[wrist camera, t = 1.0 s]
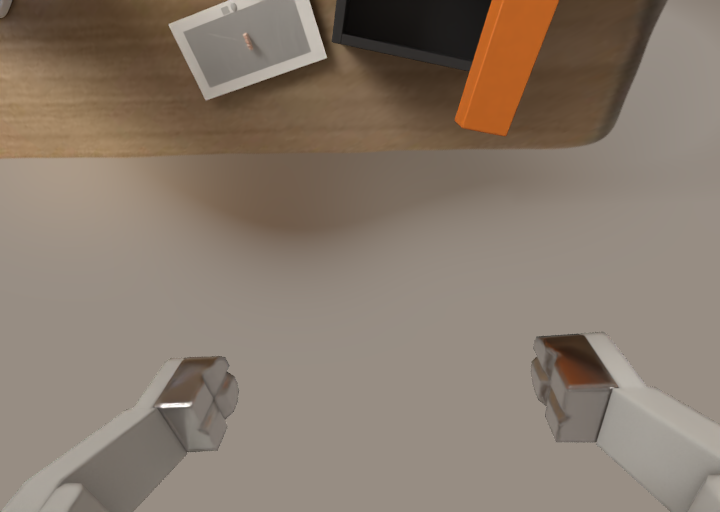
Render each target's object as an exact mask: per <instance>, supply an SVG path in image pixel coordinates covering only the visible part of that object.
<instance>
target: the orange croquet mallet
mask: <svg viewBox="0 0 720 512" xmlns="http://www.w3.org/2000/svg"><path fill="white" fill-rule="evenodd" d="M558 2H559V0H492V1H491V4H490V7H489V11H488V14H487V17H486V20H485V24H484V27H483V30H482V33H481V36H480V40H479V43H478V46H477V49H476V53H475V56H474V59H473V62H472V66H471V69H470V72H469V75H468V78H467V82H466V85H465V88H464V91H463V95H462V98H461V101H460V104H459V108H458V111H457V114H456V117H455V122H456V123H457V124H458V125H460V126H461V127H462V128H464V129H469V130H474V131H479V132H484V133H489V134H494V135H500V136H506V135H507V133H508V130H509V128H510V125H511V123H512V120H513V117H514V115H515V112H516V110H517V107H518V105H519V102H520V100H521V97H522V94H523V92H524V89H525V87H526V84H527V82H528V79H529V77H530V74H531V71H532V69H533V66H534V64H535V61H536V59H537V56H538V53H539V51H540V48H541V46H542V43H543V41H544V38H545V36H546V33H547V30H548V28H549V25H550V23H551V20H552V18H553V15H554V13H555V10H556V7H557V5H558Z"/></svg>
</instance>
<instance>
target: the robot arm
mask: <svg viewBox="0 0 720 512" xmlns="http://www.w3.org/2000/svg"><path fill="white" fill-rule="evenodd" d="M11 3H12V0H0V18H3V17H4V16H5V15H6V14H7V13H8V10H9V8H10V6H11ZM533 349H534V351H535V353H536V355H537V357H536V358H535V359H534V360H533V361H532V364H531V376H532V383H533V387H534V390H535V393H536V395H537V398H538V400H539V401H540V402H542V403H543V404H544V405H546V406H547V407H546V414H545V417H546V419H547V422H548V424H549V426H550V429H551V431H552V433H553V436H554V438H555V441H556V442H596V445H597V446H599V447H600V448H601V449H602V450H603V451H604V452H605V453H606V454H607V455H609V456H610V457H611V458H612V459H613V460H614V461H615V462H616V463H617V464H618V465H620V466H621V467H622V468H623V469H624V470H625V471H626V472H627V473H628V474H629V475H631V476H632V477H633V478H634V479H635V480H636V481H637V482H638V483H639V484H640V485H642V486H643V487H644V488H645V489H646V490H647V491H648V492H650V494H651V495H653V496H654V497H655V498H656V499H657V500H658V501H659V502H660V503H661V504H663V505H664V506H665V507H666V508H667V509H668V510H669V511H670V512H720V424H719V423H717V422H715V421H714V420H712V419H710V418H708V417H707V416H705V415H703V414H702V413H700V412H698V411H696V410H694V409H693V408H691V407H689V406H688V405H686V404H684V403H682V402H680V401H679V400H677V399H675V398H674V397H672V396H670V395H668V394H667V393H665V392H663V391H661V390H660V389H658V388H656V387H647V386H646V384H645V383H644V382H643V380H642V379H641V378H640V376H639V375H638V374H637V372H636V371H635V370H634V368H633V367H632V366H631V364H630V363H629V362H628V360H627V359H626V358H625V357H624V355H623V354H622V353H621V351H620V350H619V349H618V347H617V346H616V345H615V343H614V342H613V341H612V339H611V338H610V337H609V335H607V334H606V333H604V332H595V333H581V334H568V335H553V336H539V337H536V339H535V341H534V347H533ZM228 367H229V364H228V362H227V360H226V358H225V357H222V356H212V357H187V358H170V359H169V360H167V361H166V362H165V363H164V364H163V366H162V367H161V369H160V370H159V371H158V373H157V374H156V376H155V377H154V379H153V380H152V381H151V383H150V384H149V386H148V387H147V389H146V390H145V391H144V393H143V394H142V396H141V397H140V399H139V400H138V402H137V403H136V404H135V406H134V407H133V409H126V410H125V411H124V412H123V413H121V414H119V415H118V416H117V417H115V418H114V419H112V420H111V421H110V422H108V423H107V424H106V425H104V426H103V427H101V428H100V429H98V430H97V431H96V432H94V433H93V434H91V435H90V436H89V437H87V438H86V439H84V440H83V441H82V442H80V443H79V444H77V445H76V446H75V447H73V448H72V449H71V450H69V451H68V452H66V453H65V454H63V455H62V456H61V457H59V458H58V459H56V460H55V461H54V462H52V463H51V464H49V465H48V466H47V467H45V468H44V469H42V470H41V471H40V472H38V473H37V474H35V475H34V476H33V477H31V478H30V479H28V480H27V481H26V482H25V483H24V484H23V485H22V486H21V488H20V489H19V490H18V491H17V492H16V494H15V495H14V496H13V497H12V499H11V500H10V501H9V502H8V503H7V505H6V506H5V507H4V508H3V510H2V511H1V512H133V511H134V510H135V509H136V508H137V507H138V506H139V505H140V504H141V503H142V502H143V501H144V500H145V498H146V497H147V496H148V495H149V494H150V493H151V492H152V491H153V490H154V489H155V488H156V487H157V486H158V485H159V484H160V483H161V482H162V480H163V479H164V478H165V477H166V476H167V475H168V474H169V473H170V472H171V471H172V470H173V469H174V468H175V466H176V465H177V464H178V463H179V462H180V461H181V460H182V459H183V458H184V457H185V456H186V455H187V452H200V451H217V450H218V448H219V446H220V443H221V441H222V439H223V436H224V434H225V432H226V429H227V424H226V421H225V419H226V418H227V417H228V416H230V415H231V414H232V413H233V412H234V409H235V407H236V405H237V402H238V393H239V390H238V384H237V381H236V379H235V377H234V376H233V375H231V374H230V373H228V372H227V370H228Z"/></svg>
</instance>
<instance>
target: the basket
mask: <svg viewBox="0 0 720 512" xmlns="http://www.w3.org/2000/svg"><path fill="white" fill-rule="evenodd" d="M491 1H492V0H337V3H336V11H335V19H334V27H333V35H332V42H333V43H338V44H343V45H347V46H352V47H357V48H361V49H366V50H371V51H376V52H380V53H385V54H390V55H394V56H399V57H404V58H408V59H413V60H418V61H423V62H427V63H432V64H437V65H441V66H446V67H451V68H456V69H460V70H465V71H470V69H471V66H472V62H473V59H474V56H475V53H476V49H477V46H478V43H479V40H480V36H481V33H482V30H483V27H484V24H485V20H486V17H487V14H488V11H489V7H490V4H491Z"/></svg>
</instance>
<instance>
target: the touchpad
mask: <svg viewBox="0 0 720 512" xmlns="http://www.w3.org/2000/svg"><path fill="white" fill-rule="evenodd" d="M168 25H169V27H170V29H171V31H172V33H173V35H174V37H175V39H176V41H177V43H178V45H179V47H180V49H181V51H182V53H183V55H184V58H185V60H186V62H187V64H188V66H189V68H190V70H191V72H192V74H193V76H194V78H195V80H196V82H197V84H198V86H199V88H200V90H201V92H202V94H203V96H204V98H205V100H209V99H212V98H215V97H217V96H220V95H223V94H226V93H229V92H232V91H235V90H237V89H240V88H243V87H246V86H249V85H252V84H254V83H257V82H260V81H263V80H266V79H269V78H271V77H274V76H277V75H280V74H283V73H286V72H289V71H291V70H294V69H297V68H300V67H303V66H306V65H308V64H311V63H314V62H317V61H320V60H323V59H325V58H327V56H326V53H325V49H324V46H323V43H322V40H321V36H320V33H319V30H318V27H317V24H316V20H315V17H314V14H313V11H312V7H311V4H310V1H309V0H228V1H226V2H223V3H221V4H218V5H216V6H213V7H211V8H208V9H206V10H203V11H201V12H198V13H195V14H193V15H190V16H188V17H185V18H183V19H180V20H178V21H175V22H173V23H170V24H168Z"/></svg>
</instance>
